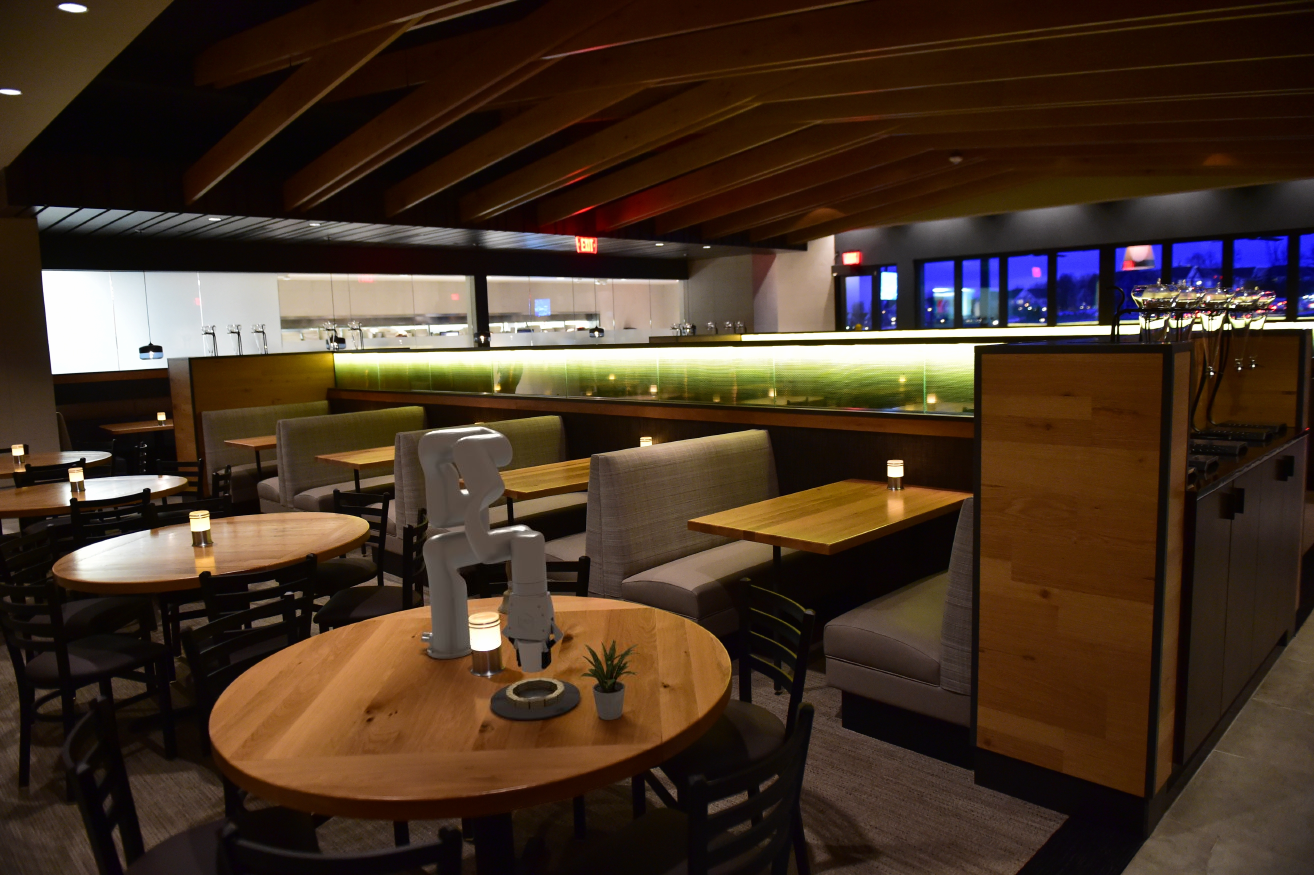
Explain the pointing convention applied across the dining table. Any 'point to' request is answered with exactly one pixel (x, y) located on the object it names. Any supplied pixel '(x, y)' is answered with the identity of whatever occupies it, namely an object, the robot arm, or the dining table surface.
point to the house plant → (609, 682)
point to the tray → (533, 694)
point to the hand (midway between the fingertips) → (534, 665)
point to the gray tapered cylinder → (531, 655)
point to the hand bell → (504, 605)
